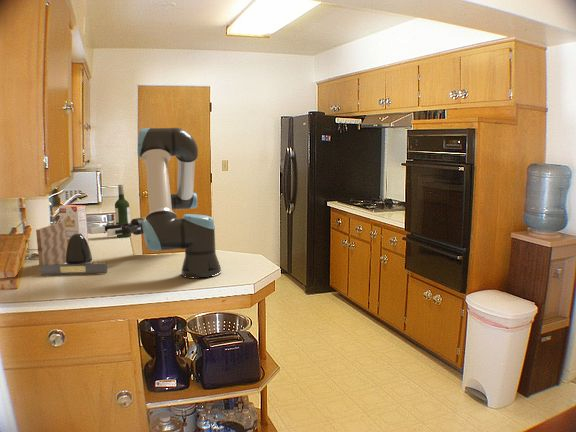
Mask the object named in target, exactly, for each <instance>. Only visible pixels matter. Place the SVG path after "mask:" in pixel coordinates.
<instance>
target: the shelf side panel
mask: <svg viewBox="0 0 576 432" xmlns="http://www.w3.org/2000/svg"><path fill="white" fill-rule="evenodd" d="M35 232H36V244H37V256H38V265H39V274H40V275H41V268H40V266H41V265H51V264H67V263H66V250H67V245H68V244H67V233H66V221H64V222H60V221H59V222H57V223H53V224H50V225H47V226H44V227H41V228H38V229H36V230H35Z"/></svg>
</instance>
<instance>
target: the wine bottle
mask: <svg viewBox="0 0 576 432" xmlns="http://www.w3.org/2000/svg"><path fill="white" fill-rule="evenodd" d="M117 187H118V199H117V200H116V201H115V203H114V212H115V213H114V214H115V225H117V224H125V223H129V224H130V223H131V212H130V202H129V201H128V200H127V199H125V192H124V184H117ZM116 237H117V238H119V239H120V238H122V239H123V238H125V239H126V238H130V237H132V233H130V234H123V233H122V234H120V235H116Z"/></svg>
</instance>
